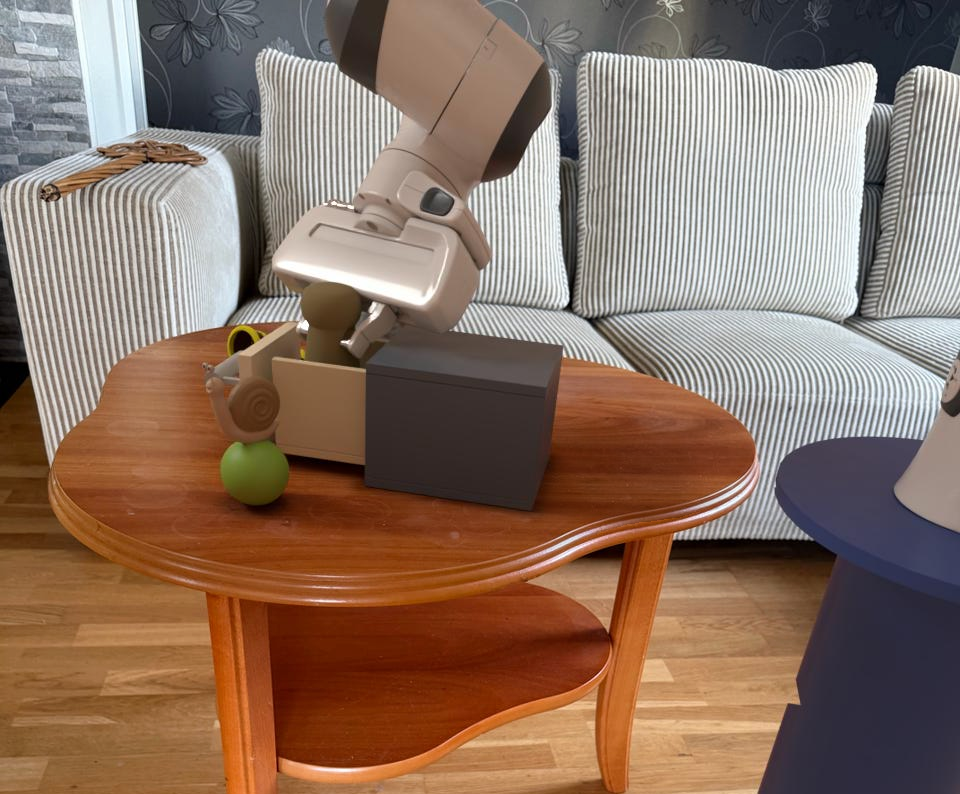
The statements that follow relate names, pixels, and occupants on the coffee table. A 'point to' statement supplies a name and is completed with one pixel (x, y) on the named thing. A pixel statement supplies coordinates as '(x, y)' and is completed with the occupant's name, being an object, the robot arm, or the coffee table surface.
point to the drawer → (307, 396)
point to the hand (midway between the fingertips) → (326, 345)
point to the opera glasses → (245, 339)
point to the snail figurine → (249, 438)
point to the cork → (330, 321)
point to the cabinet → (461, 416)
